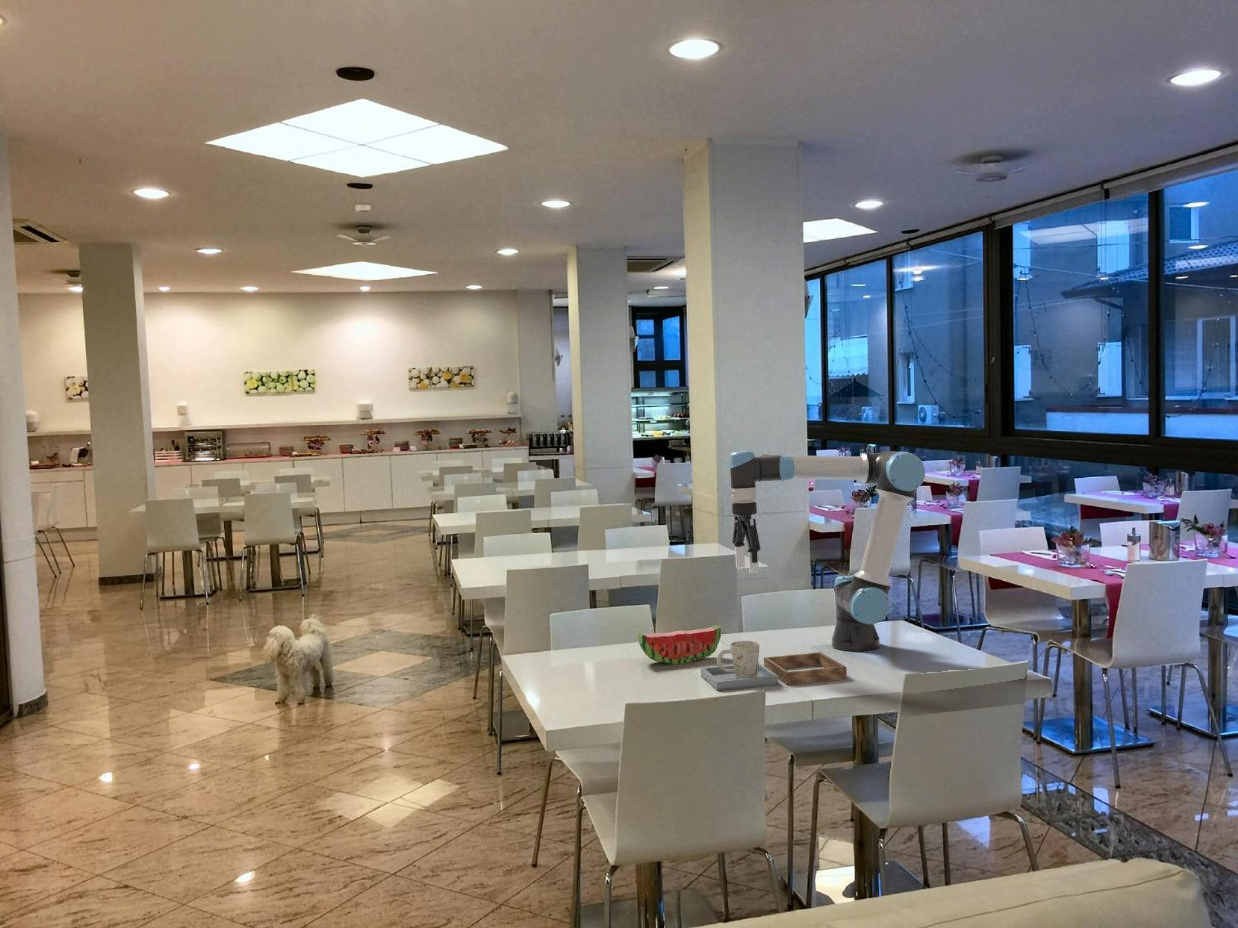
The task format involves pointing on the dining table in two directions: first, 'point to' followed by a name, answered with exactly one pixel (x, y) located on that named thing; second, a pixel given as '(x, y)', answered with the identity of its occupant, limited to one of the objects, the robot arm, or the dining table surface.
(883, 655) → the dining table surface
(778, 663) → the corral
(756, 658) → the mug
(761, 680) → the tray
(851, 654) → the dining table surface
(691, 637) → the fruit slice
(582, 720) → the dining table surface
